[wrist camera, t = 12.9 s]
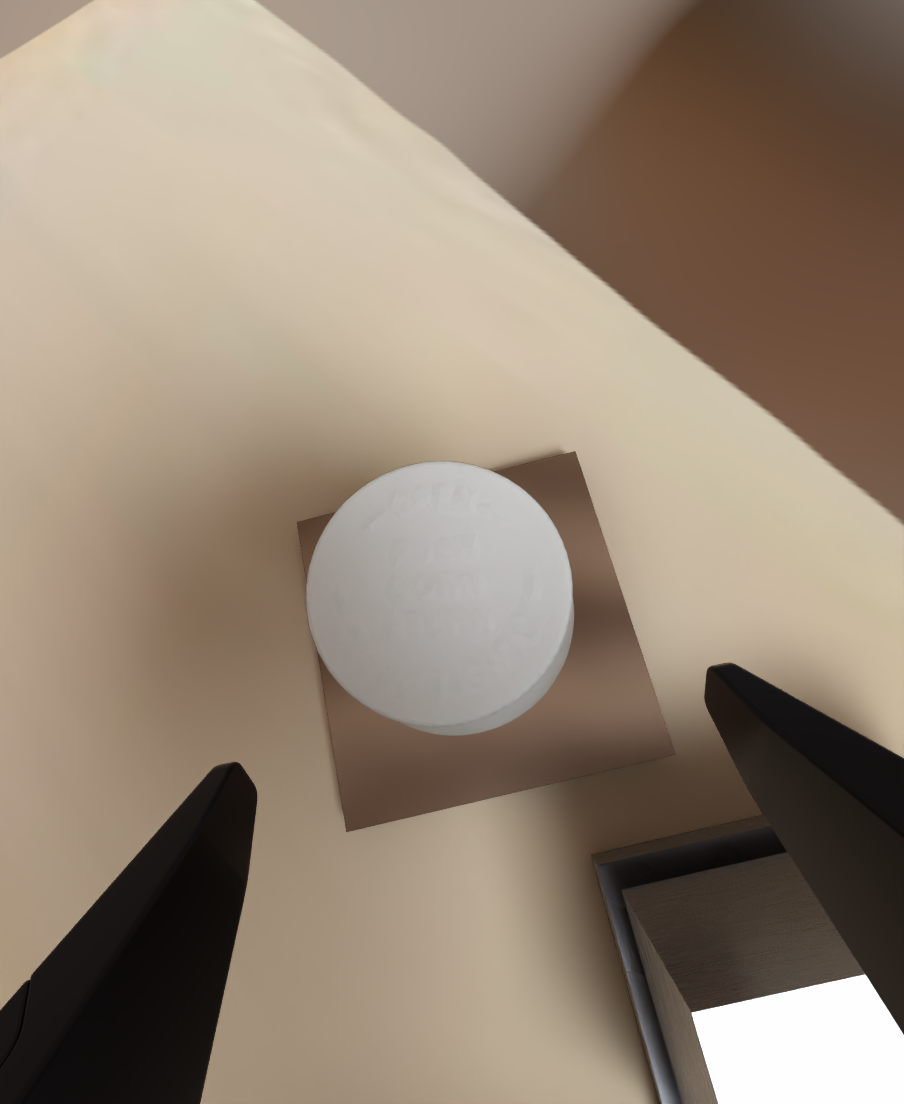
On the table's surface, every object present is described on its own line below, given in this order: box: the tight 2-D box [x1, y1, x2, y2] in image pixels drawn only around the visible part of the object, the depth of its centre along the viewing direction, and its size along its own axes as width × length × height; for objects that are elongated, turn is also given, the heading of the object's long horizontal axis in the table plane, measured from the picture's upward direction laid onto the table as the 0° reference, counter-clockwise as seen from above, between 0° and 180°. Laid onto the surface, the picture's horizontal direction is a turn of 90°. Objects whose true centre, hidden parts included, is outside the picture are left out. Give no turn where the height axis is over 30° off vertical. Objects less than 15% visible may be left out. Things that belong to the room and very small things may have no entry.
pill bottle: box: [306, 461, 574, 736], centre depth 14 cm, size 6×6×11 cm
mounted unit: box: [591, 815, 904, 1104], centre depth 13 cm, size 9×13×8 cm
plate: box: [297, 451, 675, 832], centre depth 20 cm, size 13×13×1 cm
